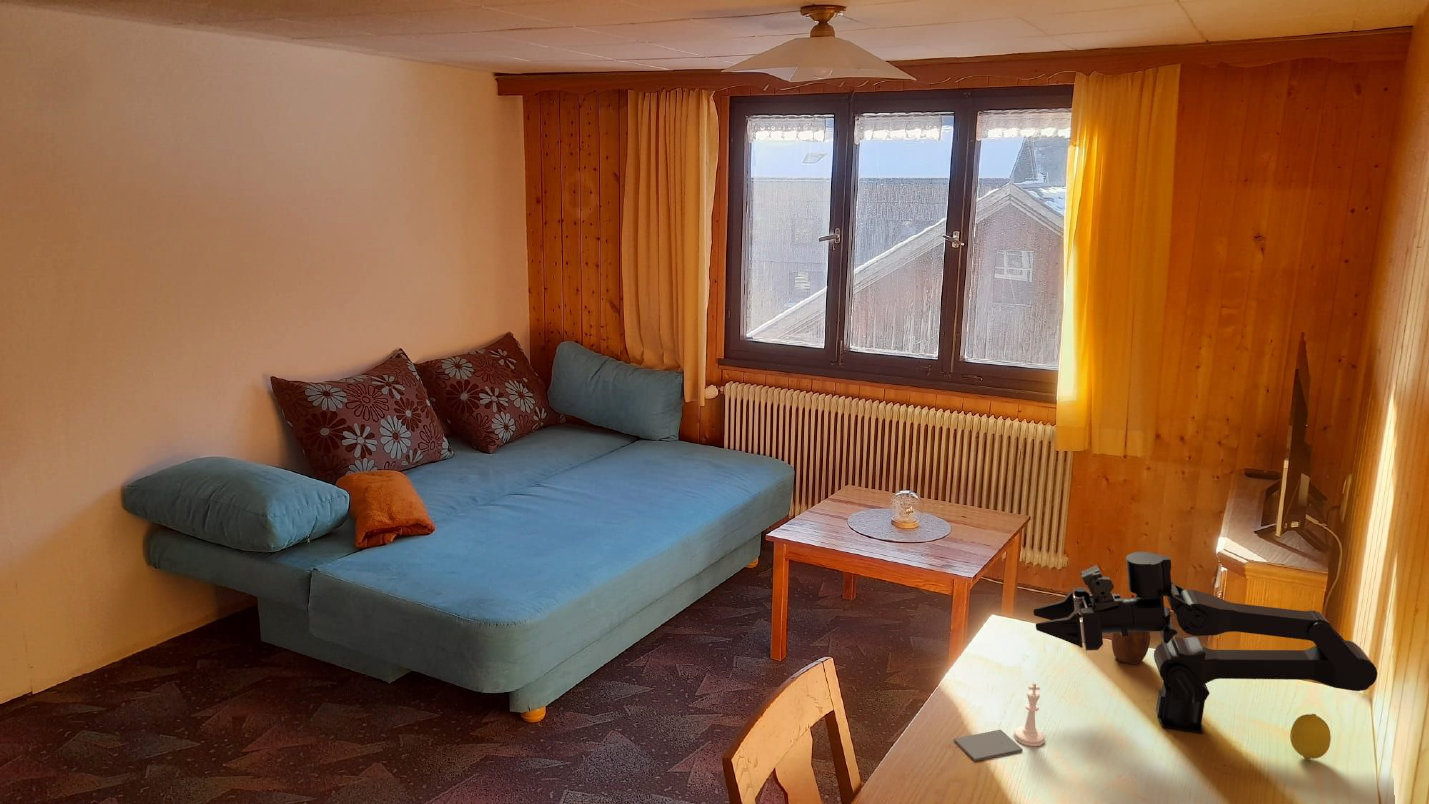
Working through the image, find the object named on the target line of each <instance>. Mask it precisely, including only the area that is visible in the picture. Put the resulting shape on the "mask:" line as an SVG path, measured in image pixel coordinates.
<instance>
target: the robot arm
mask: <svg viewBox="0 0 1429 804" xmlns="http://www.w3.org/2000/svg"><path fill="white" fill-rule="evenodd" d="M1125 559H1126V561H1125V562H1126V572H1127V575H1126V576H1127V584H1128V591H1130V592H1131V593H1132V594H1135V597H1136V596H1137V597H1139V598H1135V597H1134V598H1131V597H1123V596H1122V595H1121V594H1119V593H1112V591H1113V590H1114V588H1115V586H1114V584H1113V582H1112V580H1111V578H1110V577H1109V576H1103V574H1102V572H1101V570H1100V568H1099V566H1098V564H1096V565H1094V566H1091V567H1088V568H1087V569H1084V570H1082V571H1080V572H1079V574H1080V577H1081V579H1082V580H1083V583H1084V585H1085V586H1087V588H1088V589H1087V588H1086V587H1085V586H1076V587H1075V586H1074V587H1073V590H1072V589H1070V590H1069V591H1068V593H1067V594H1066V596H1065V597H1064V598H1063V599H1062V600H1059V601H1056V602H1053V603H1050V604H1046V605H1042V606H1039V607H1036V608H1034V609H1033V615H1034V616H1035V617H1038V618H1042V619H1044V620H1045V619H1046V620H1045V621H1040V622H1036V623H1035V630H1036V631H1037V632H1040V633H1043V634H1046V635H1048V636H1052V637H1055V638H1057V639H1060V640H1062V641H1065V642H1067V643H1069V644H1072V645H1075V646H1078V647H1079V648H1083V647H1084V648H1085V651H1098V650H1099V649H1100V648H1102V646H1103V645H1104V639H1103V635H1104V634H1105V635H1106V634H1112V633H1121V636H1128V633H1130V632H1150V633H1151V632H1153V633H1154V632H1159V633H1160V636H1161V638H1162V641H1161V642H1160V643H1159V644H1158V645H1157V646H1156V647H1155V649H1154V651H1153V659H1154V662H1155V665H1156V667H1157V671H1158V674H1159V675H1160V678H1161V680H1162V681H1163V682H1162V689H1158V690H1157V698H1156V704H1155V705H1156V707H1155V713H1156V716H1157V717H1156V718H1158V719H1159V721H1160V725H1161V727H1162V728H1165V729H1171V730H1177V731H1184V732H1191V733H1197V734H1203V733H1204V727H1203V725H1202V723H1203V716H1204V710H1205V704H1206V703H1205V702H1206V700H1207V699H1208V697H1209V695H1210V690H1209V689H1208V686H1207V683H1211V682H1212V681H1215V680H1221V679H1222V680H1231V679H1232V680H1285V681H1286V680H1287V681H1288V680H1295V681H1297V680H1298V681H1305V680H1306V681H1307V680H1309V681H1314V682H1317V683H1320V684H1323V685H1326V686H1329V687H1331V688H1334V689H1341V690H1347V691H1352V692H1363V691H1367V690H1369V689H1370V687H1371V686H1373V685H1374V684H1375V682H1376V680H1377V678H1378V670H1377V669H1378V668H1376V666H1375V664H1374V662H1372V660H1371V659H1370V657H1369V656H1368V655H1367V654H1366V653H1365V651H1364V650H1363V649H1362V648H1361V647H1360V646H1359V645H1358V644H1356V643H1355V642H1354V641H1351V640H1347V639H1344V637H1343V636H1341V634H1340V633H1339V632H1338V631H1337V630H1336V629H1335V628H1334V627H1333V625H1331V623H1330V622H1329V621H1328V619H1327V618H1326V616H1324V614H1323V613H1321V612H1320V611H1316V610H1298V609H1290V608H1281V607H1271V606H1262V605H1252V604H1245V603H1237V602H1236V603H1235V602H1231V601H1228V600H1226V599H1225V600H1224V599H1223V598H1221V597H1218V596H1215V595H1213V594H1210V593H1207V592H1202V591H1200V590H1197V589H1196V590H1195V589H1185V588H1183V587H1182V586H1180V585H1177V584H1176V583H1174V582H1173V581H1172V575H1171V571H1172V560H1171V558H1170V557H1169V555H1160V554H1158V553H1153V552H1147V551H1145V550H1144V551H1143V550H1142V551H1136V552H1135V551H1134V552H1132V553H1129V554H1127V556H1126V558H1125ZM1164 597H1166V599H1167V601H1168V602H1167V603H1168V604H1169V606H1170V608H1168V607H1167V606H1165V602H1164V600H1165V599H1164ZM1171 610H1172V613H1173V615H1174V617H1175V619H1176V621H1177V622H1176V623H1178V626H1179V628H1180V629H1181V630H1182V631H1183V632H1184V633H1186V634H1187V635H1190V636H1189V637H1178V636H1175V635H1177V634H1178V630H1177V629H1176V626H1174V625H1173V624H1172V613H1171ZM1232 632H1233V633H1234V632H1236V633H1244V634H1254V635H1262V636H1263V635H1264V636H1270V637H1279V638H1286V639H1287V638H1288V639H1294V640H1295V639H1296V640H1302V641H1303V640H1304V641H1310V642H1313V644H1314V645H1315V646H1312V647H1310V648H1307V649H1302V650H1301V649H1293V650H1292V649H1211V648H1208V647H1205V646H1204V645H1203V644H1202V643H1201V640H1200V638H1199V637H1201V636H1202V637H1203V636H1218V635H1221V634H1222V635H1223V634H1226V633H1232ZM1191 636H1192V637H1191ZM1083 644H1084V646H1083Z"/></svg>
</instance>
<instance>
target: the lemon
mask: <svg viewBox="0 0 1429 804" xmlns="http://www.w3.org/2000/svg"><path fill="white" fill-rule="evenodd" d="M1289 737H1290V743H1291V746H1292V748H1293V749H1294V751H1295V752H1296V753H1297V754H1298V755H1300V756H1302V757H1303V759H1304V760H1306V761H1307V760H1308V761H1309V760H1311V759H1313V760H1314V759H1319V758H1321V757H1323V756H1324V755H1326V754H1327V753H1328V751H1329V748H1330V745H1331V739H1332V736H1331V730H1330V727H1329V725H1328V724H1327V722H1326V721H1325V720H1324V719H1323V718H1321V717H1320V716H1318V715H1317V714H1315V713H1311V714H1310V713H1308V714H1303V715H1300V716H1298V717H1297V718H1296V719H1295V721H1294V722H1293V724H1292V727H1291V729H1290V735H1289Z"/></svg>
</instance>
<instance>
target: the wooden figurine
mask: <svg viewBox="0 0 1429 804" xmlns="http://www.w3.org/2000/svg"><path fill="white" fill-rule="evenodd" d="M1130 598H1139V597H1137V596H1136V595H1134V594H1131V597H1130ZM1151 637H1152V636H1151V632H1130V633H1128V636H1121V633H1111V639H1110V640H1111V648H1112V654H1113V655H1114V657H1115V658H1116V659H1117V660H1118V661H1120V662H1123V663H1125V664H1133V665H1134V664H1140V663H1141V662H1143V660H1144V659H1145V658H1146V656H1147V653H1148V651H1149V648H1150V642H1151Z"/></svg>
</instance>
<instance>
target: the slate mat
mask: <svg viewBox="0 0 1429 804" xmlns="http://www.w3.org/2000/svg"><path fill="white" fill-rule="evenodd" d="M953 741H955V742H954V743H955V744H956V745H957V746H959V748H961V749H962V751H964V752H965V753H966V754H967V756H969V758H970V759H972V760H973V761H974V762H976V761H983V760H988V759H991V758H997V757H1001V756H1005V755H1010V754H1016V753H1020V752H1023V748H1022V747H1021V746H1020V745H1019V744H1018V743H1016V741H1014V740H1013V739H1012V738H1011V737H1010V736H1008V735H1007V734H1006V733H1005V732H1004V731H1003V729H996V730H991V731H986V732H980V733H975V734H971V735H965V736H961V737H960V736H959V737H956V738H953Z"/></svg>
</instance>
